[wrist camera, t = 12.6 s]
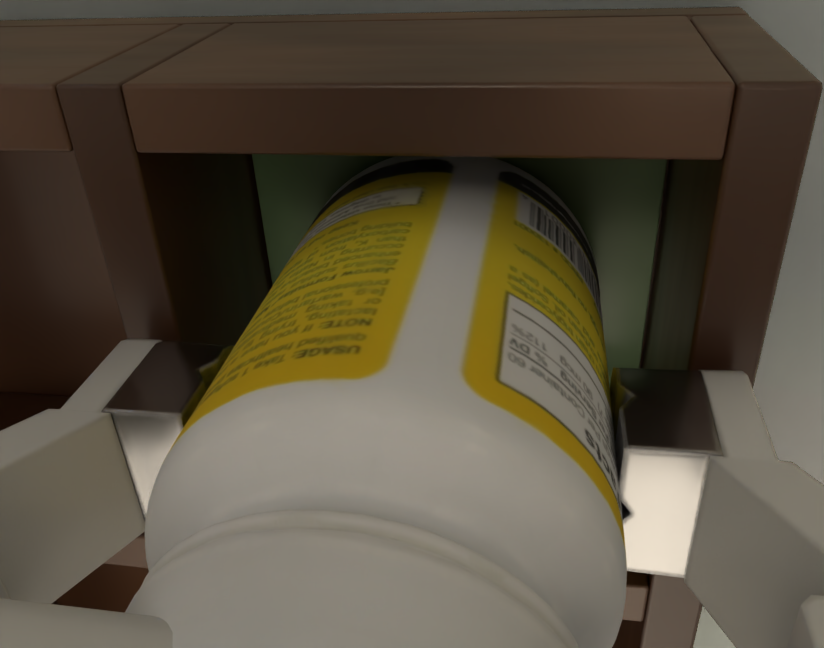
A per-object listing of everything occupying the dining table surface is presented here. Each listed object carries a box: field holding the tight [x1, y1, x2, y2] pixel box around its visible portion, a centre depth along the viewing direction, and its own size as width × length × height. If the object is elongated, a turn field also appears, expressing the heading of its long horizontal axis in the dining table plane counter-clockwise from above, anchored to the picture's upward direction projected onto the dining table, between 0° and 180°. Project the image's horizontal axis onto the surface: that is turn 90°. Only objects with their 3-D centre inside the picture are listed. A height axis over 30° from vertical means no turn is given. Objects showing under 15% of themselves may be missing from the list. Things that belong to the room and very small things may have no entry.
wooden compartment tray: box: [0, 7, 822, 648], centre depth 14 cm, size 15×15×4 cm
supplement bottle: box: [125, 156, 627, 648], centre depth 9 cm, size 5×5×8 cm
